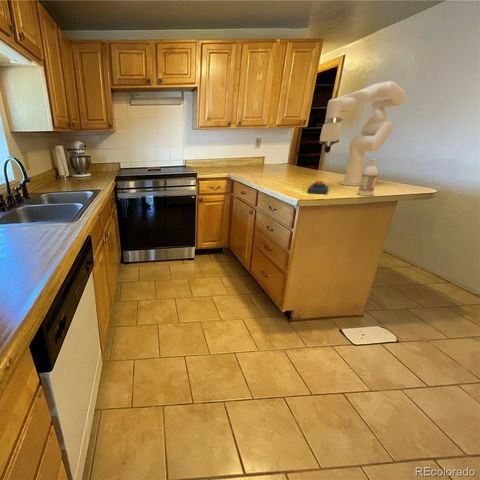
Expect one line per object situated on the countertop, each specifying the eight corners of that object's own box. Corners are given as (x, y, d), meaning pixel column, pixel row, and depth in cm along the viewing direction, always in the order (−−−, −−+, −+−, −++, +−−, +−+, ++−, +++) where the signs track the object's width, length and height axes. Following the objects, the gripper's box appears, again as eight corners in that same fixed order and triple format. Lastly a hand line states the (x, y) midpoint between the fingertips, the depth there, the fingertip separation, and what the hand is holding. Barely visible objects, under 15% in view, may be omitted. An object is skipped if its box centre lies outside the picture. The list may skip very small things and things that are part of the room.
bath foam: (369, 196, 150) (378, 159, 143) (355, 194, 156) (363, 159, 148) (374, 194, 154) (383, 158, 146) (360, 192, 159) (369, 158, 152)
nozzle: (315, 183, 168) (316, 180, 167) (323, 184, 166) (323, 180, 165) (315, 184, 165) (315, 181, 164) (322, 185, 163) (323, 181, 162)
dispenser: (310, 189, 175) (311, 181, 173) (328, 190, 169) (329, 182, 167) (307, 193, 165) (308, 185, 163) (326, 194, 159) (327, 186, 158)
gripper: (347, 120, 160) (341, 152, 167) (318, 122, 168) (314, 152, 175) (346, 120, 154) (340, 153, 161) (317, 122, 162) (312, 153, 169)
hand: (327, 152), depth 168 cm, fingers closed
